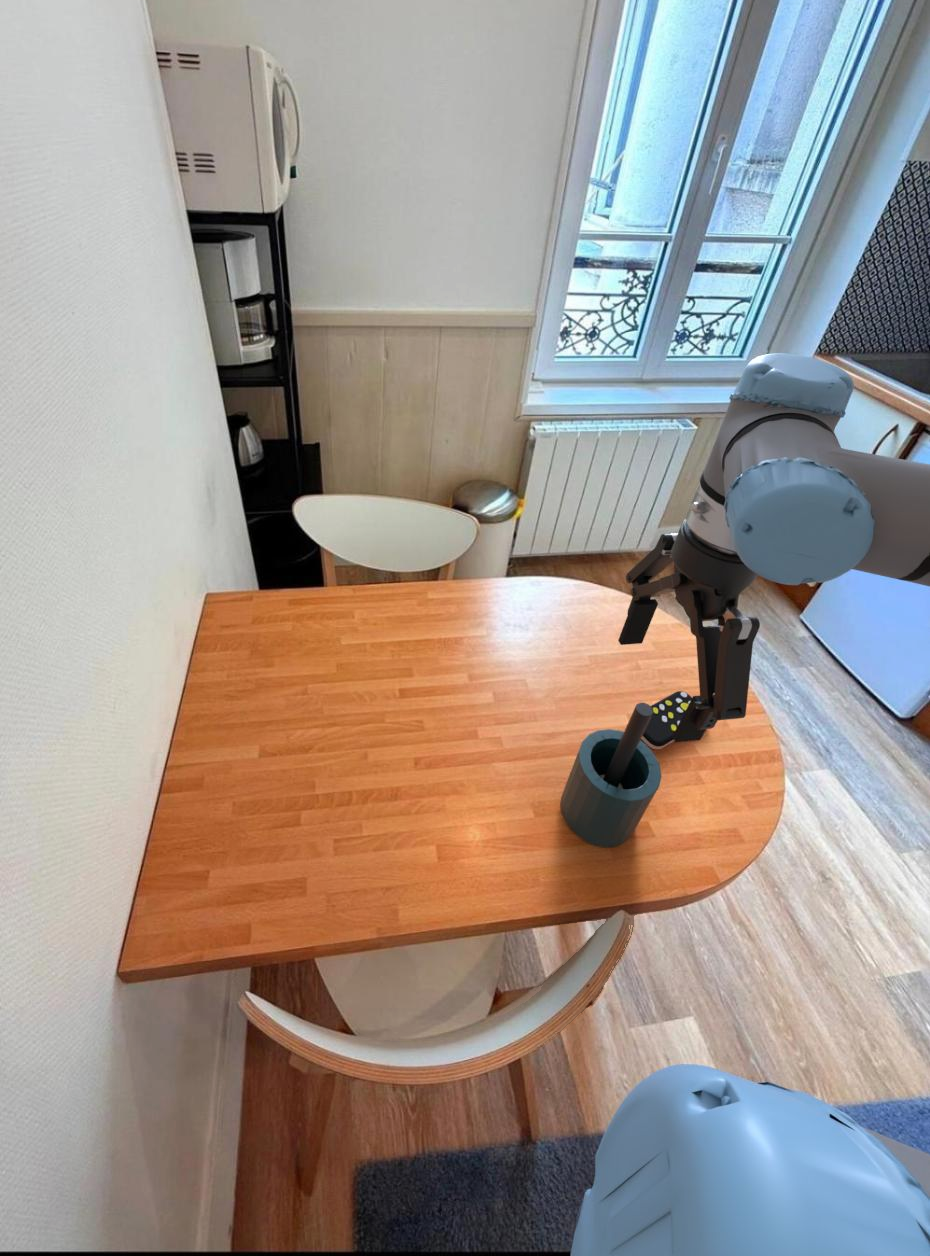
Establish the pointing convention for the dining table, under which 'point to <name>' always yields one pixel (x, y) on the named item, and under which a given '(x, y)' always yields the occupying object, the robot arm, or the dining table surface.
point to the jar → (608, 791)
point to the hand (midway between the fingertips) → (655, 686)
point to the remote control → (665, 719)
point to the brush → (628, 744)
